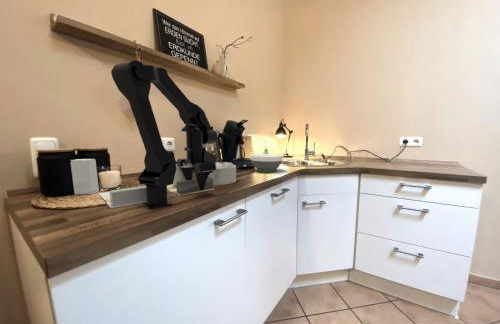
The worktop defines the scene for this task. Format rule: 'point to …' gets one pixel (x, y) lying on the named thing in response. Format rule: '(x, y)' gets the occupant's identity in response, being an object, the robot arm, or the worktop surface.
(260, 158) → the bowl
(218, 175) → the lumpy-topped squat cylinder
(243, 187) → the worktop surface
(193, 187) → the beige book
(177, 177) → the cup
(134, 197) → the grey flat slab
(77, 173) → the skincare box
